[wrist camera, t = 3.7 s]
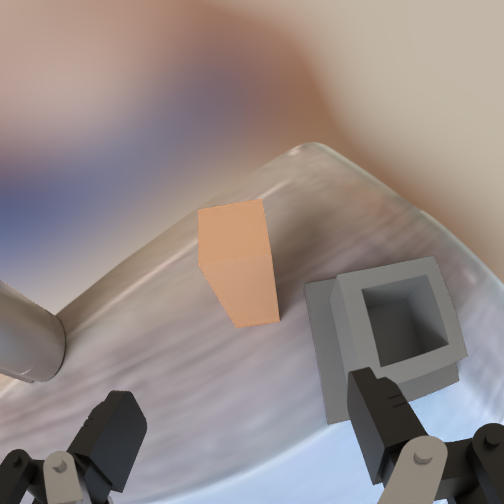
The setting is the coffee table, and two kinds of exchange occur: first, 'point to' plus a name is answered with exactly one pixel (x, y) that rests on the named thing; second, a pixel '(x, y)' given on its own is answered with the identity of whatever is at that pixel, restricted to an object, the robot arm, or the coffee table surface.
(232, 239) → the orange rectangular block
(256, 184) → the coffee table surface
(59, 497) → the robot arm
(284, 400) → the coffee table surface
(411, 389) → the well
